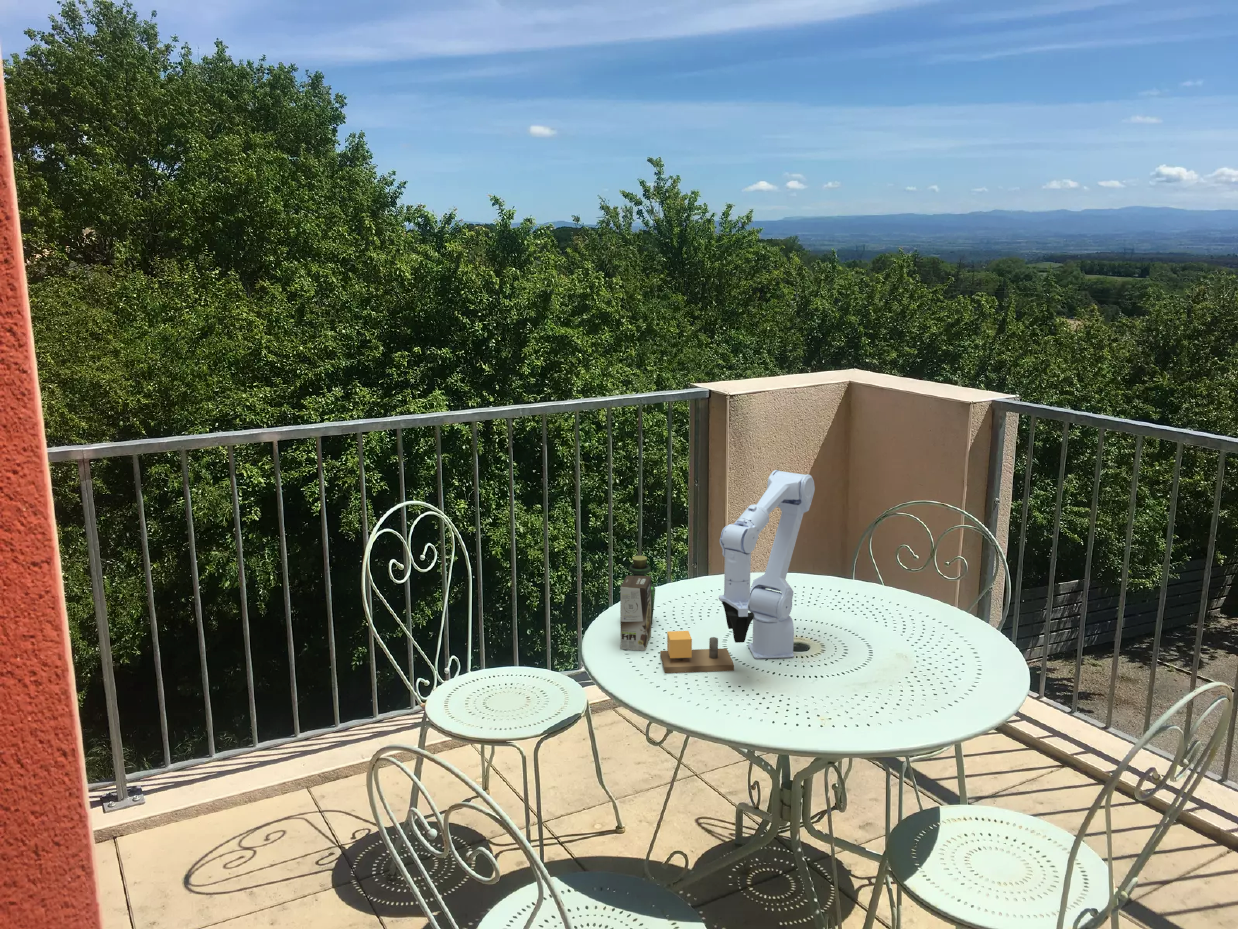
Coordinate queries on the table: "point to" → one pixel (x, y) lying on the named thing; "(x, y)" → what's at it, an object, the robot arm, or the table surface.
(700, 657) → the wooden peg board
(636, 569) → the potion bottle
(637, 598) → the coffee box
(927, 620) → the table surface
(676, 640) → the wooden toy cube
